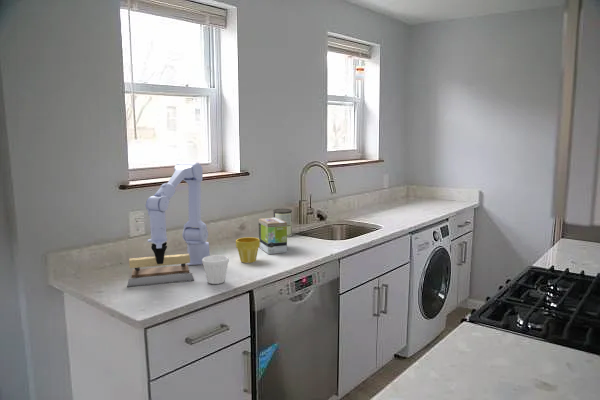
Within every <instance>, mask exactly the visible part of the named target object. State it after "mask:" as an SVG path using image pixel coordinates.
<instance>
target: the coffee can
mask: <svg viewBox="0 0 600 400" xmlns="http://www.w3.org/2000/svg"><path fill="white" fill-rule="evenodd" d="M272 212H273V215H272V216H273V218H279V219H281V220H283V221H285V222H287V238H289V237H291V236H293V217H292V216H293V215H292V213H293V210H292V209H291V208H276V209H273V211H272Z"/></svg>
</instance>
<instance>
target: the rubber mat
mask: <svg viewBox="0 0 600 400" xmlns="http://www.w3.org/2000/svg"><path fill="white" fill-rule="evenodd" d="M183 282H184V283H185V282H194V274H193V273H192V272H189V273H178V274H168V275H157V276H146V277H135V278H128V279H127V285H126V287H127V288H132V287H143V286H153V285H154V286H155V285H163V284H164V285H165V284H173V283H183Z"/></svg>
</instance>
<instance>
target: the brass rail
mask: <svg viewBox="0 0 600 400" xmlns="http://www.w3.org/2000/svg"><path fill="white" fill-rule="evenodd" d="M128 263H129V269H135V268H138V267H140V268H147V267H148V268H151V267H157V266H159V267H160V266H161V267H162V266H174V265H181V264H185V263H186V264H187V263H190V255H189V254H188V253H180V254H169V255H168V254H167V255H166V254H165V255H164V261H163V264H157V262H156V258H155V255H154V256H153V255H152V256H143V257H142V256H141V257H139V258H138V257H129V260H128Z"/></svg>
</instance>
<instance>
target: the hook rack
mask: <svg viewBox="0 0 600 400" xmlns="http://www.w3.org/2000/svg"><path fill="white" fill-rule="evenodd" d="M137 258H140V257H139V256H138V257H137ZM187 273H190V268H189V265H187V263H185V264H180V265H168V266H161V267H160V266H159V267H148V268H147V267H146V268H141V267H138V268H134V269H132V272H131V279H134V278H144V277H155V276H166V275H177V274H187Z"/></svg>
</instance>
